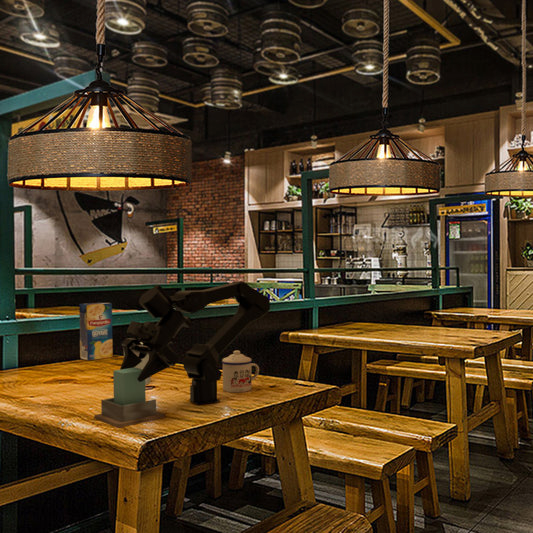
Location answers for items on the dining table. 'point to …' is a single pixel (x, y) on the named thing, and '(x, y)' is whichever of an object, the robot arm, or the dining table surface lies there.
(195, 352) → the robot arm
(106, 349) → the beverage box
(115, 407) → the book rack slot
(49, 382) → the dining table surface
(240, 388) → the teacup with lid
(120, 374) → the teal green rectangular block
